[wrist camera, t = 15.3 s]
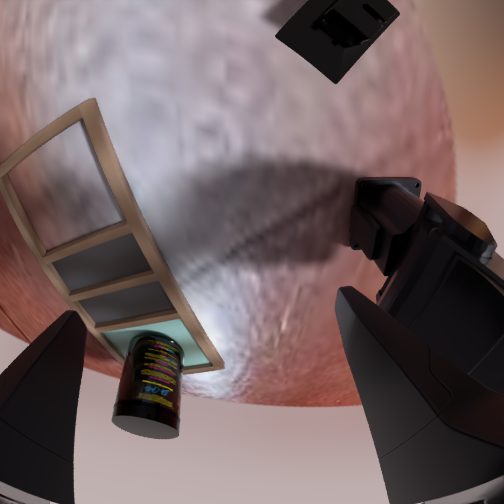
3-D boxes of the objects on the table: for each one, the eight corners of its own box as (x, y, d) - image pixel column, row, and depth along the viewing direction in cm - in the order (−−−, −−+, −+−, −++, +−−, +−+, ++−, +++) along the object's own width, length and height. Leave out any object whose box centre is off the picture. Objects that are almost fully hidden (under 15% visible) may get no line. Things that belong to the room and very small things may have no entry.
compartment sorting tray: (-2, 169, 15) (-8, 172, 15) (95, 97, 14) (89, 98, 14) (137, 373, 33) (136, 378, 32) (224, 362, 32) (224, 369, 31)
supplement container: (126, 324, 26) (104, 409, 18) (186, 333, 28) (179, 423, 19) (133, 357, 30) (118, 431, 21) (184, 366, 31) (179, 442, 22)
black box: (328, 105, 17) (355, 111, 13) (246, 45, 14) (251, 31, 10) (410, 13, 12) (444, 6, 8) (342, -45, 9) (366, -66, 5)
